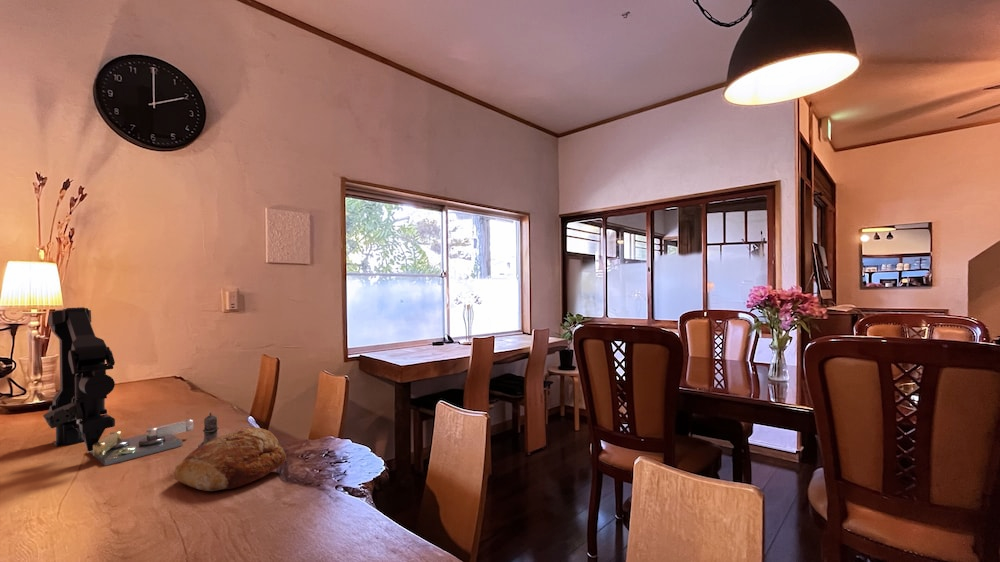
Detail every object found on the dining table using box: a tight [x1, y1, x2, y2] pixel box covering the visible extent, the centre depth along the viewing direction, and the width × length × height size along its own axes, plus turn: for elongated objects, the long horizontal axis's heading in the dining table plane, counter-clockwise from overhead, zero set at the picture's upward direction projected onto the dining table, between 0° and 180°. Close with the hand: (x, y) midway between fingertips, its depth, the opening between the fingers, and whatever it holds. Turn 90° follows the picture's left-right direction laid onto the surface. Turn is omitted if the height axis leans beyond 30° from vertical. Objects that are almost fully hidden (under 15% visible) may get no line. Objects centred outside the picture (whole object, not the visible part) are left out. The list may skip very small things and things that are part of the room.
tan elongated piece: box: [92, 430, 129, 457], centre depth 119 cm, size 13×6×4 cm, turn 21°
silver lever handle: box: [139, 418, 194, 446], centre depth 128 cm, size 13×6×4 cm, turn 144°
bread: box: [174, 427, 287, 492], centre depth 106 cm, size 20×18×10 cm
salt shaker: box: [197, 412, 219, 448], centre depth 118 cm, size 6×6×12 cm
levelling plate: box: [89, 433, 184, 467], centre depth 124 cm, size 16×17×2 cm
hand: (90, 450), depth 115 cm, fingers closed
